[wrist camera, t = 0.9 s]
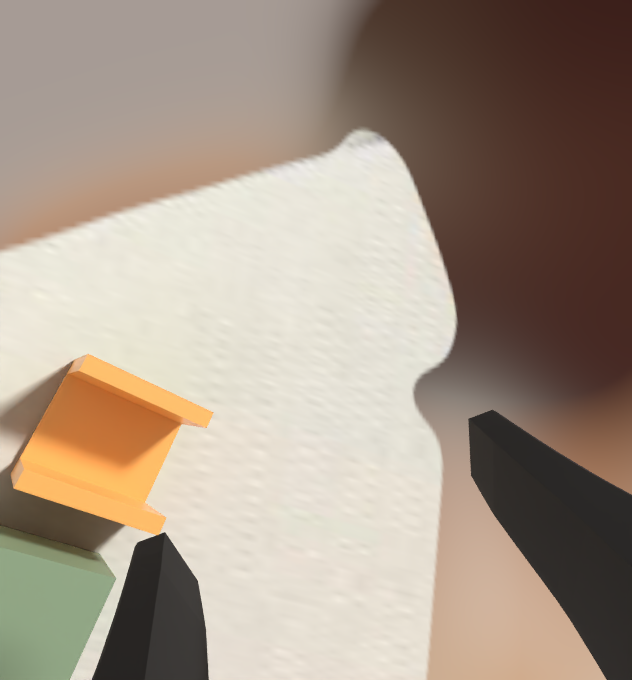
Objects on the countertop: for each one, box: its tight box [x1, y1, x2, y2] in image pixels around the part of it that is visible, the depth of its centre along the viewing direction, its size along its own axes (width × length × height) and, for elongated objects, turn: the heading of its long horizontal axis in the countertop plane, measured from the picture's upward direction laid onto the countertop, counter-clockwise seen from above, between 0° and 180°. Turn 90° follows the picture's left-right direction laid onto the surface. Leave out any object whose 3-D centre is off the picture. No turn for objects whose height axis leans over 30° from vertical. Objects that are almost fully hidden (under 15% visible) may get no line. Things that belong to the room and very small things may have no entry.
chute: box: [11, 354, 213, 535], centre depth 21 cm, size 5×6×4 cm
